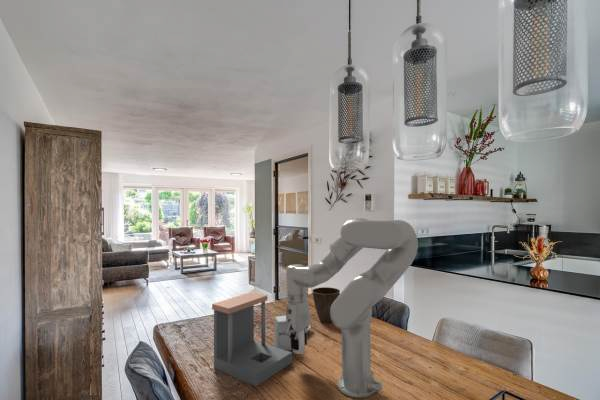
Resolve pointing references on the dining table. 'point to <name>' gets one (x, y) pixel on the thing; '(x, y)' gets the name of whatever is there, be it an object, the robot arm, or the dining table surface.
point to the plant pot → (324, 302)
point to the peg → (300, 342)
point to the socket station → (244, 341)
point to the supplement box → (281, 333)
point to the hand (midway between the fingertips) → (299, 346)
